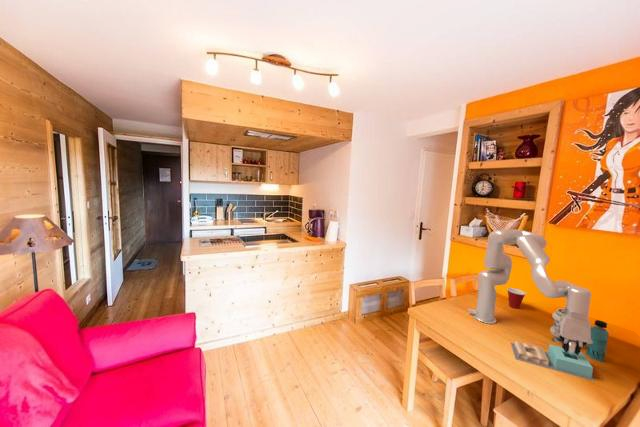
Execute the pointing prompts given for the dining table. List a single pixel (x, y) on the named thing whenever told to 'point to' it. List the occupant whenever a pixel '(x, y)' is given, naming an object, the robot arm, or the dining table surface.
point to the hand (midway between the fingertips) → (570, 351)
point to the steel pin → (571, 348)
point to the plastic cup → (515, 297)
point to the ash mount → (531, 353)
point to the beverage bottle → (598, 341)
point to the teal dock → (570, 362)
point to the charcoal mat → (550, 365)
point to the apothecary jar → (556, 325)
